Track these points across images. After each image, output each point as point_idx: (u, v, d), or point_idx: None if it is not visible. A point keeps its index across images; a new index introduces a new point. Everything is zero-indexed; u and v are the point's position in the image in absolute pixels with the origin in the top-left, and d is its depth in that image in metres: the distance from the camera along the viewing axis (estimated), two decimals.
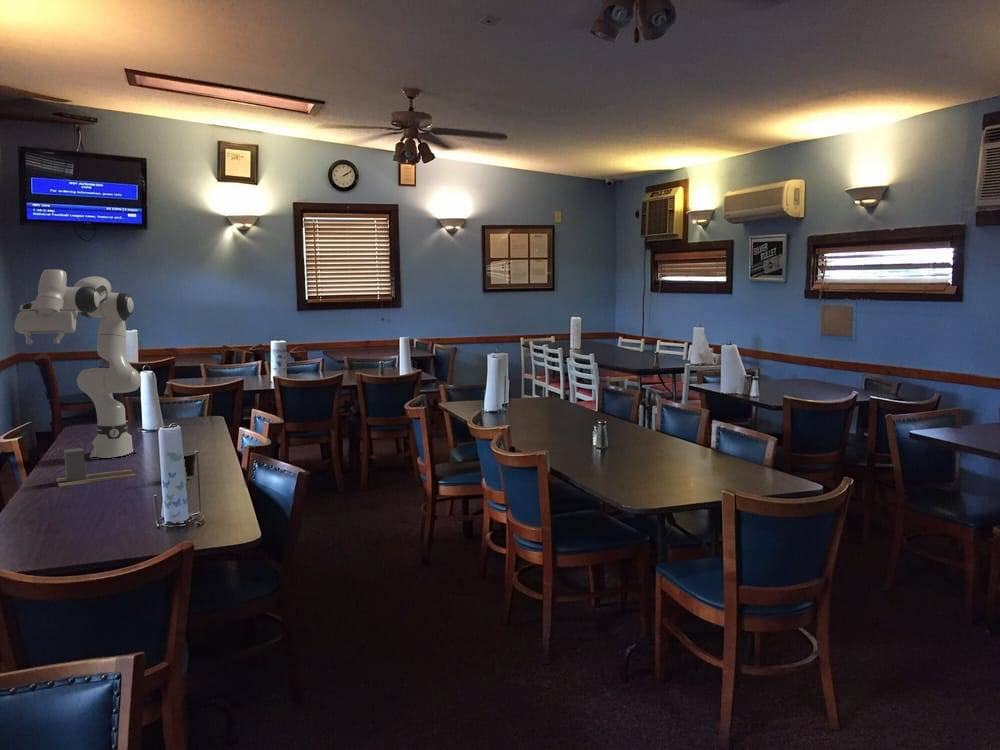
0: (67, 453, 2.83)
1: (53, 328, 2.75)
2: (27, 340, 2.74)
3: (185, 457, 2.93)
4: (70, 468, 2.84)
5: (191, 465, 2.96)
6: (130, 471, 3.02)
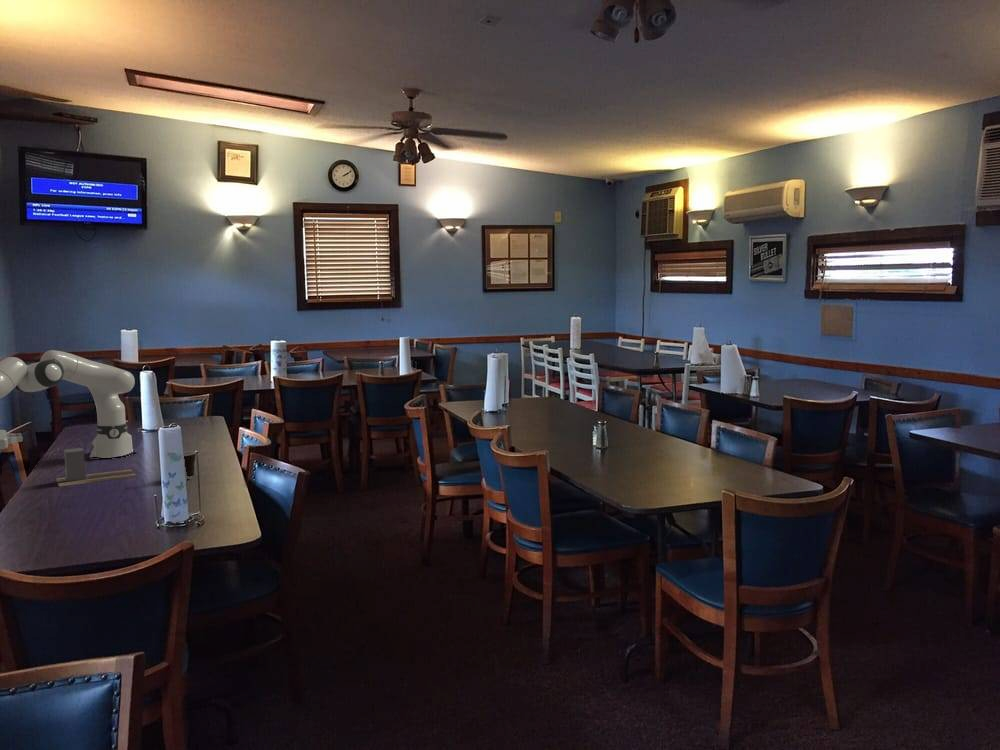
0: (67, 453, 2.83)
1: None
2: None
3: (185, 457, 2.93)
4: (70, 468, 2.84)
5: (191, 465, 2.96)
6: (130, 471, 3.02)
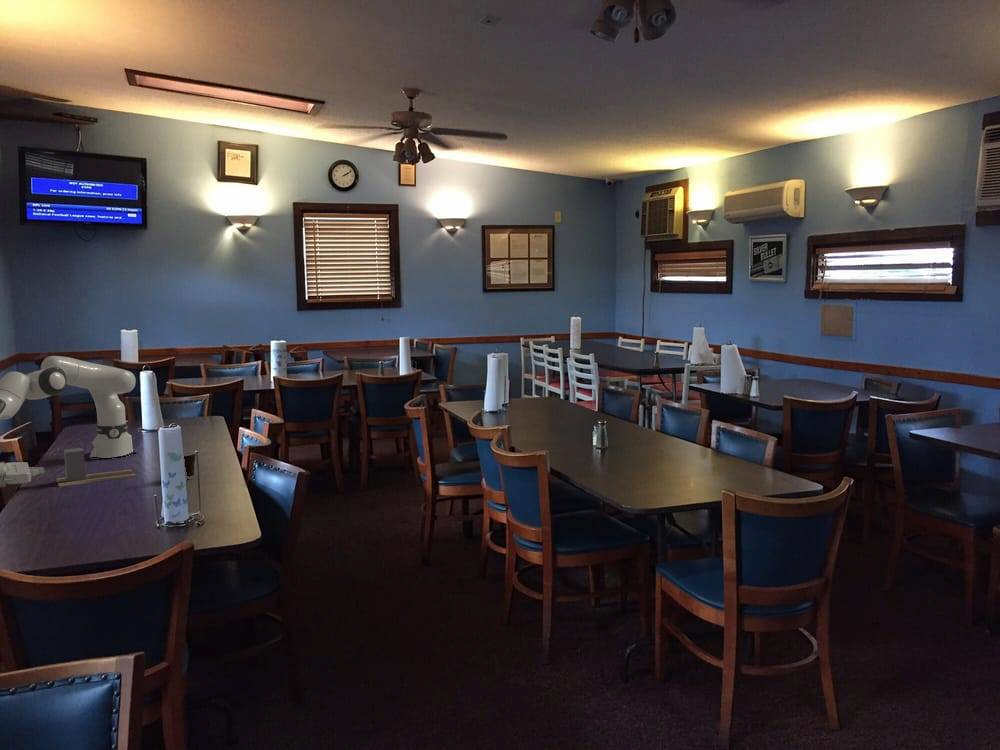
0: (67, 453, 2.83)
1: None
2: None
3: (185, 457, 2.93)
4: (70, 468, 2.84)
5: (191, 465, 2.96)
6: (130, 471, 3.02)
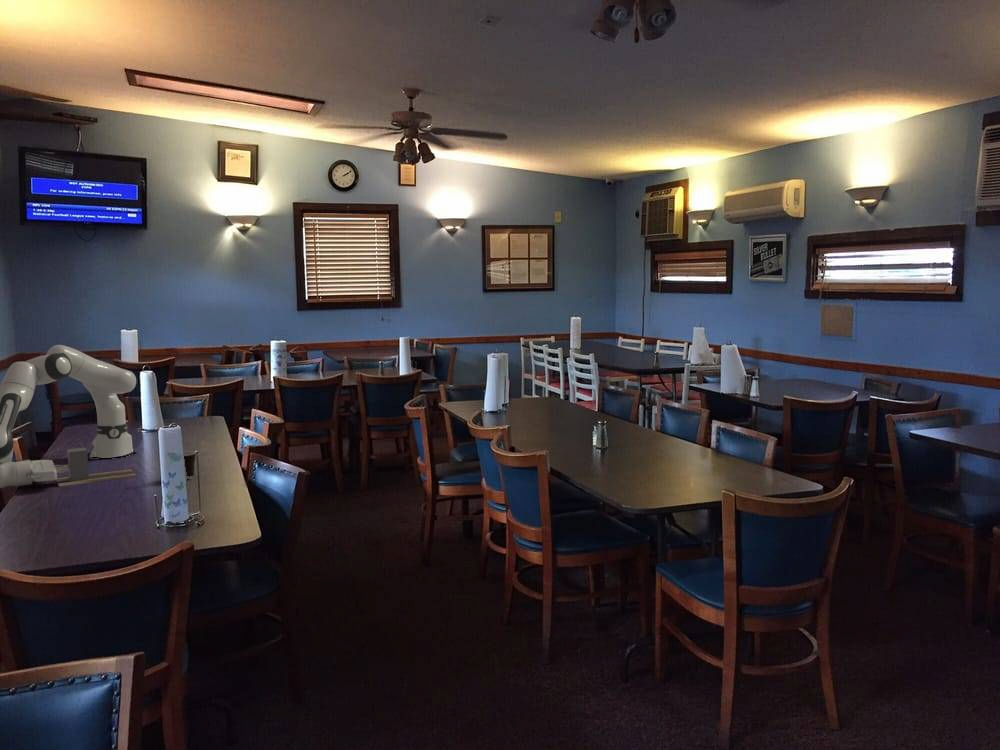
0: (70, 453, 2.84)
1: None
2: None
3: (185, 457, 2.93)
4: (74, 468, 2.85)
5: (191, 465, 2.96)
6: (130, 471, 3.02)
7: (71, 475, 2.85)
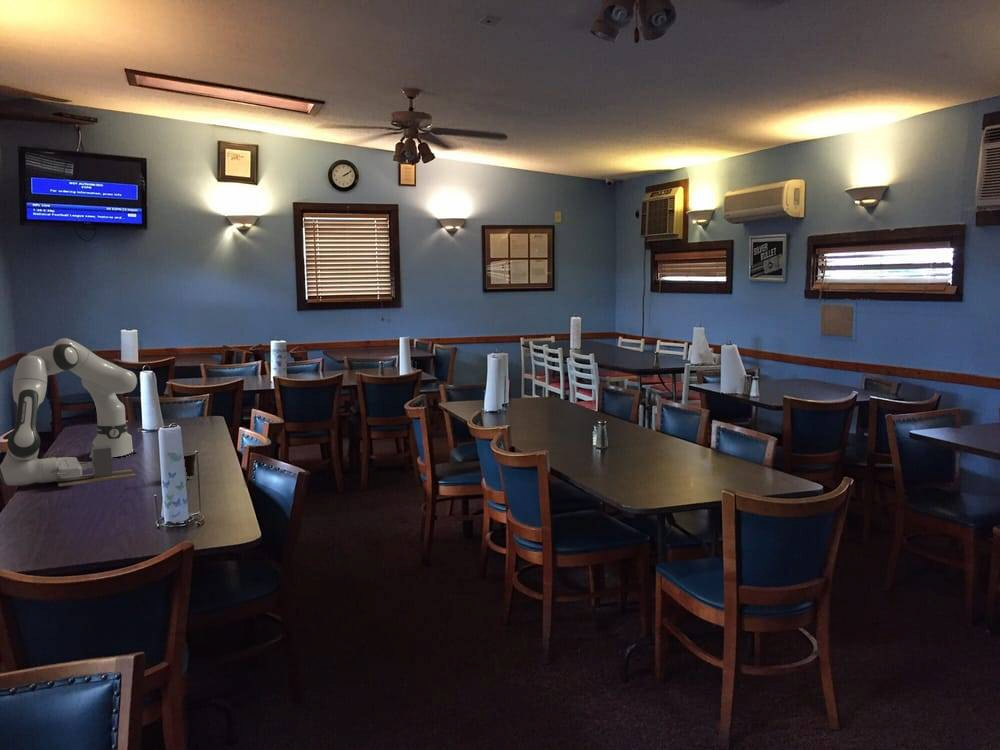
0: (95, 450, 2.88)
1: None
2: None
3: (185, 457, 2.93)
4: (98, 465, 2.89)
5: (191, 465, 2.96)
6: (130, 471, 3.02)
7: (95, 472, 2.89)
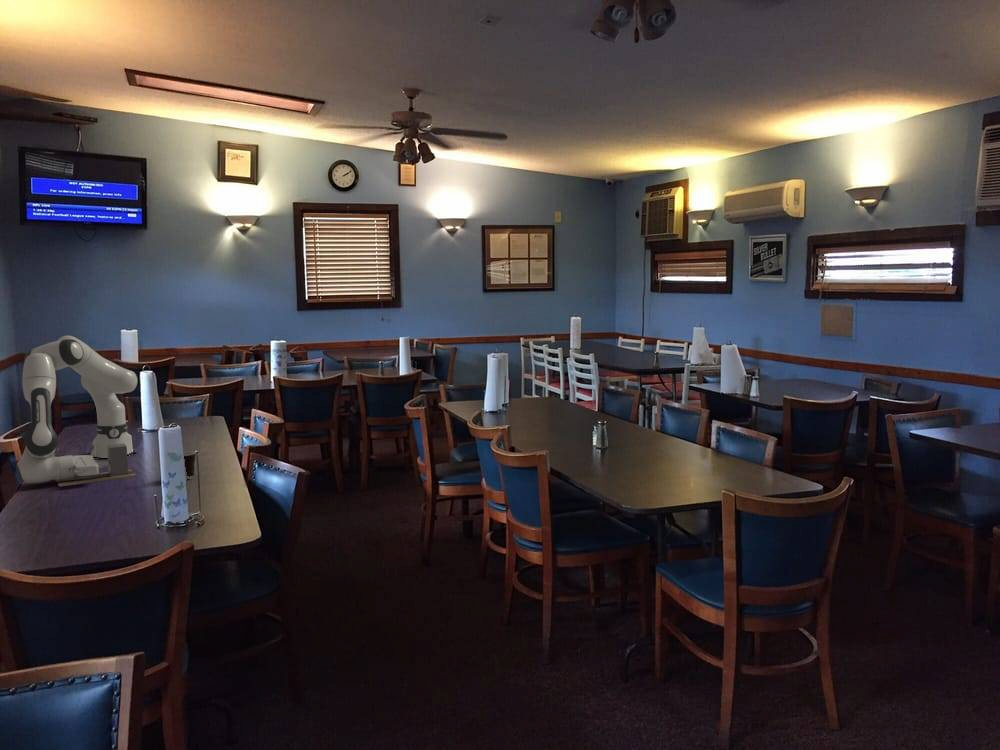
0: (111, 448, 2.91)
1: None
2: None
3: (185, 457, 2.93)
4: (114, 463, 2.92)
5: (191, 465, 2.96)
6: (130, 471, 3.02)
7: (111, 470, 2.92)
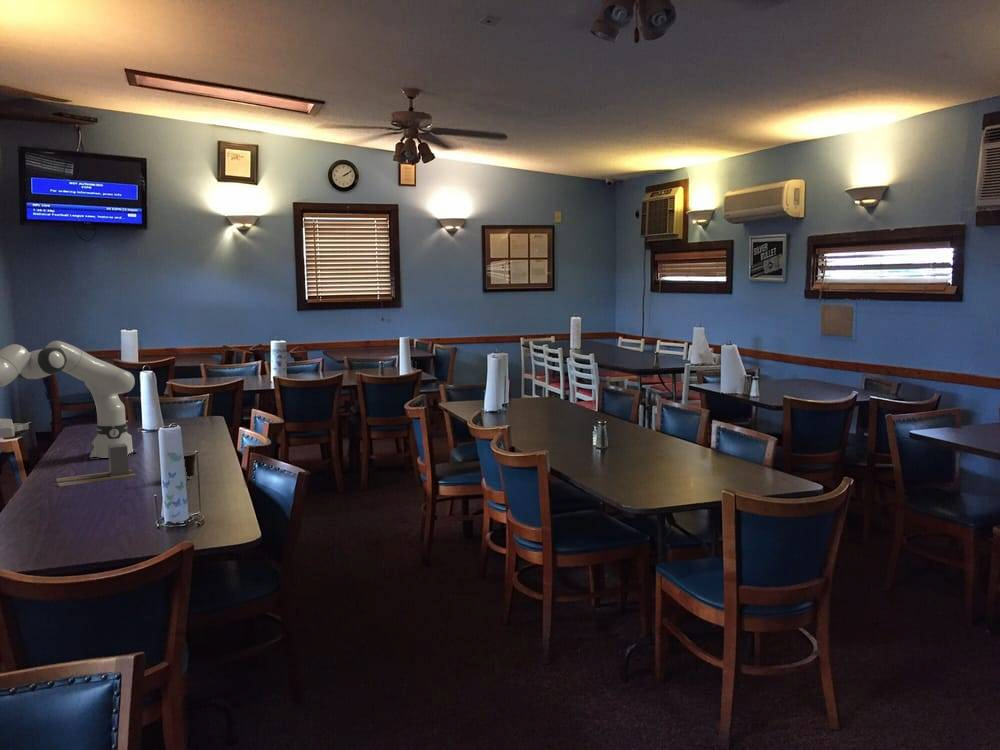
0: (111, 448, 2.91)
1: None
2: None
3: (185, 457, 2.93)
4: (115, 463, 2.93)
5: (191, 465, 2.96)
6: (130, 471, 3.02)
7: (112, 470, 2.92)
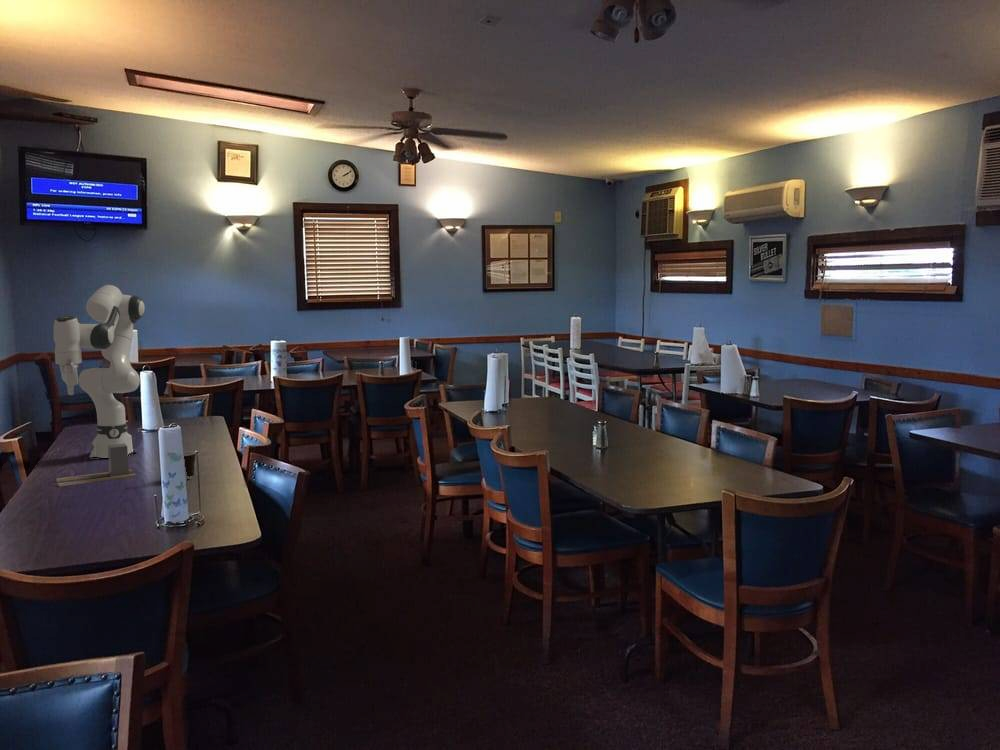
0: (111, 448, 2.91)
1: (65, 382, 2.89)
2: None
3: (185, 457, 2.93)
4: (115, 463, 2.93)
5: (191, 465, 2.96)
6: (130, 471, 3.02)
7: (112, 470, 2.92)
